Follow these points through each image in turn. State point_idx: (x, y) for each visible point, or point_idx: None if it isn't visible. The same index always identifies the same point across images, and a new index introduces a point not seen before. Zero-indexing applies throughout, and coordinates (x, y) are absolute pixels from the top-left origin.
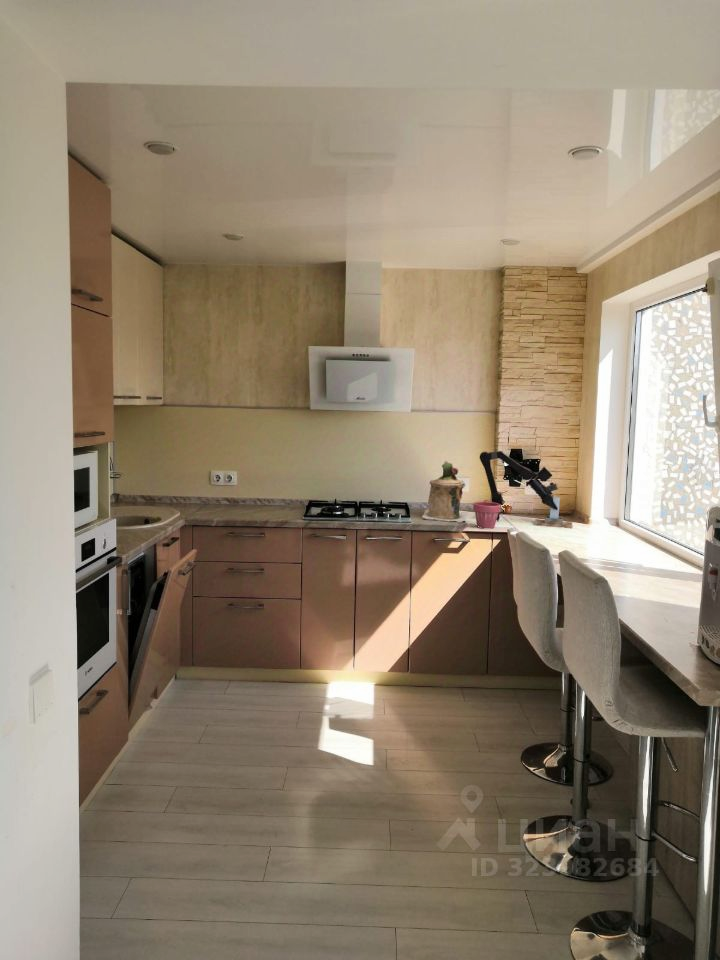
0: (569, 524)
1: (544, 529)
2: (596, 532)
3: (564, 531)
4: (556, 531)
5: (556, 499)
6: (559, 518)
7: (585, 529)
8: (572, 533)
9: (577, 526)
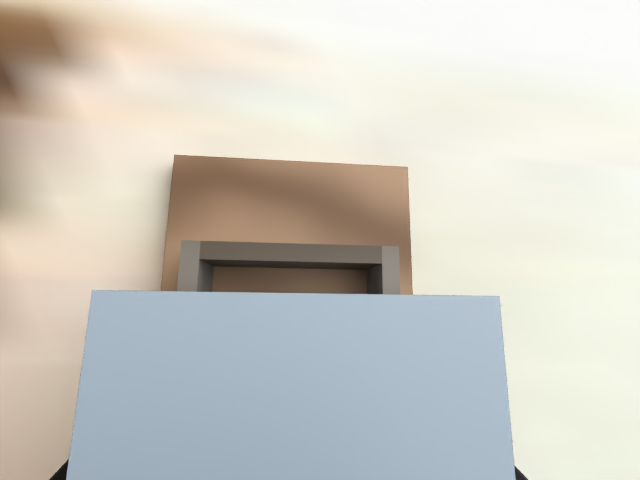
0: (320, 188)
1: (599, 431)
2: (479, 12)
3: (586, 250)
4: (629, 318)
5: (491, 446)
6: (204, 283)
7: (390, 74)
8: (634, 191)
9: (268, 122)
